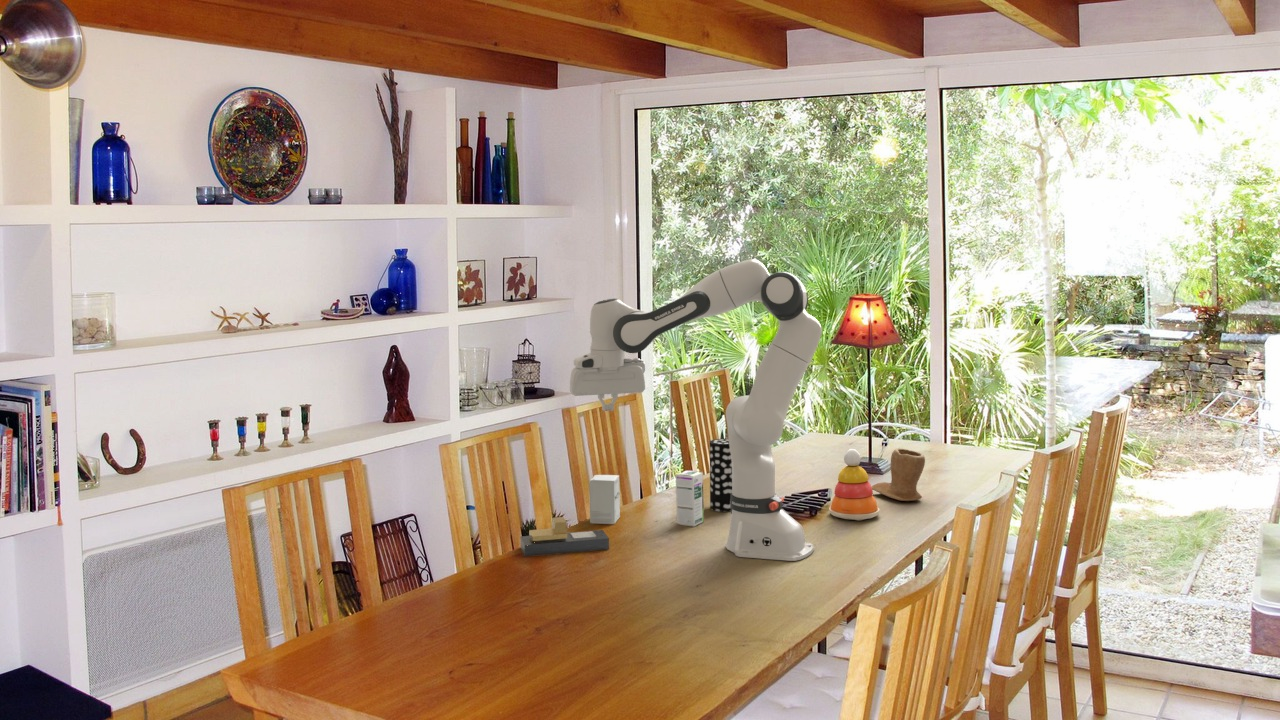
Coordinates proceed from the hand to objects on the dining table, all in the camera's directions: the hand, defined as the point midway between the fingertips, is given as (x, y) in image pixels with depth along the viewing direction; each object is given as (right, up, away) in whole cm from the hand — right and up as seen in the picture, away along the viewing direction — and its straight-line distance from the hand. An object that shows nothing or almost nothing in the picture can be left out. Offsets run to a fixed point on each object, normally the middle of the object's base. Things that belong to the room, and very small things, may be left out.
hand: (608, 410), depth 297 cm
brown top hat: (+88, -29, +39) cm, 100 cm away
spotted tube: (+33, -30, +29) cm, 54 cm away
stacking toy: (+70, -31, +19) cm, 79 cm away
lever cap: (-15, -32, -10) cm, 37 cm away
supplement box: (-1, -32, +18) cm, 37 cm away
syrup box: (+23, -33, +14) cm, 42 cm away
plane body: (-11, -36, -9) cm, 38 cm away
